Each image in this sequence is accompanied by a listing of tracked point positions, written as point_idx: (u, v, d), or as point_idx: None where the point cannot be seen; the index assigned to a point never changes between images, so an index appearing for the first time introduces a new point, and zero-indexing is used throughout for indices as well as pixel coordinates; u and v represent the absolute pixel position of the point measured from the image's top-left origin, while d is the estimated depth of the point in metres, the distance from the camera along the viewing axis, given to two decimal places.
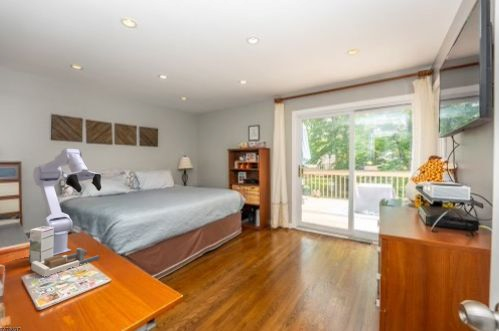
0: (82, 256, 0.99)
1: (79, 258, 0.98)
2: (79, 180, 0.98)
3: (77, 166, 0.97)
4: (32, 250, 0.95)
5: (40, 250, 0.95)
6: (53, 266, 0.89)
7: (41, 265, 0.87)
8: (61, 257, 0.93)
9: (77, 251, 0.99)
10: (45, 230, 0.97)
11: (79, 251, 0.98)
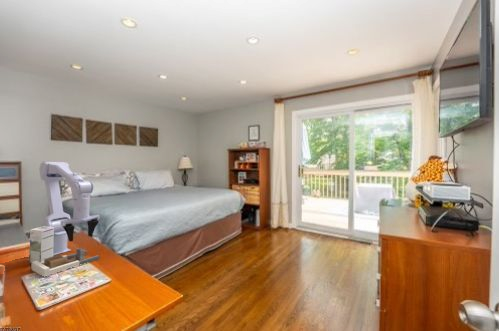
0: (82, 256, 0.99)
1: (79, 258, 0.98)
2: None
3: (80, 212, 0.97)
4: (32, 250, 0.95)
5: (40, 250, 0.95)
6: (53, 266, 0.89)
7: (41, 265, 0.87)
8: (61, 257, 0.93)
9: (77, 251, 0.99)
10: (45, 230, 0.97)
11: (79, 251, 0.98)
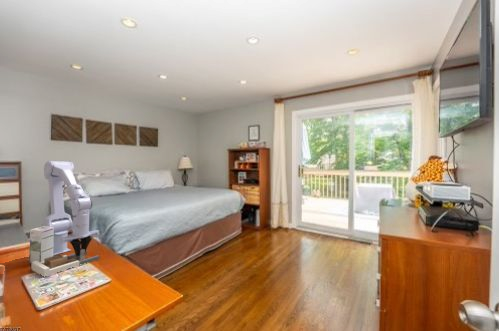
0: (82, 255, 0.99)
1: (79, 258, 0.98)
2: None
3: (79, 229, 0.97)
4: (32, 250, 0.95)
5: (40, 249, 0.95)
6: (53, 266, 0.89)
7: (41, 265, 0.87)
8: (61, 257, 0.93)
9: None
10: (45, 230, 0.97)
11: None
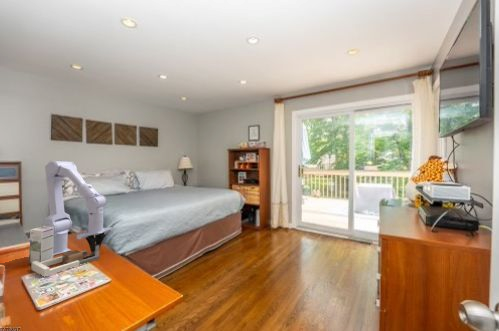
0: (97, 251, 1.04)
1: (94, 253, 1.04)
2: None
3: (95, 226, 1.03)
4: (32, 250, 0.95)
5: (40, 250, 0.95)
6: (71, 260, 0.94)
7: (41, 265, 0.87)
8: (78, 252, 0.98)
9: None
10: (45, 230, 0.97)
11: None
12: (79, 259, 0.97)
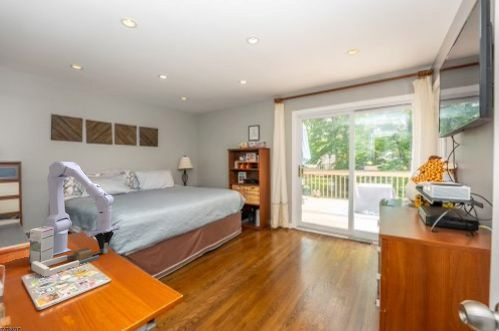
0: (105, 248, 1.07)
1: (103, 251, 1.07)
2: None
3: (103, 224, 1.06)
4: (32, 250, 0.95)
5: (40, 249, 0.95)
6: (81, 257, 0.98)
7: (41, 265, 0.87)
8: (88, 249, 1.02)
9: None
10: (45, 230, 0.97)
11: None
12: (89, 256, 1.00)
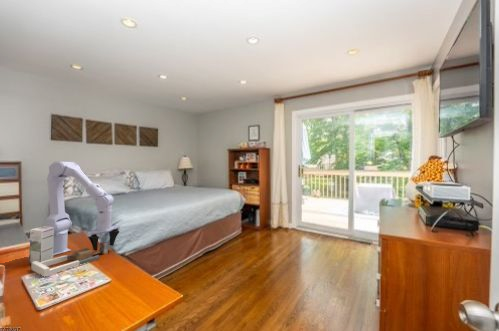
0: (105, 248, 1.07)
1: (103, 251, 1.07)
2: None
3: (103, 223, 1.06)
4: (32, 250, 0.95)
5: (40, 249, 0.95)
6: (81, 257, 0.98)
7: (41, 265, 0.87)
8: (88, 249, 1.02)
9: (101, 244, 1.08)
10: (45, 230, 0.97)
11: (103, 244, 1.07)
12: (89, 256, 1.00)
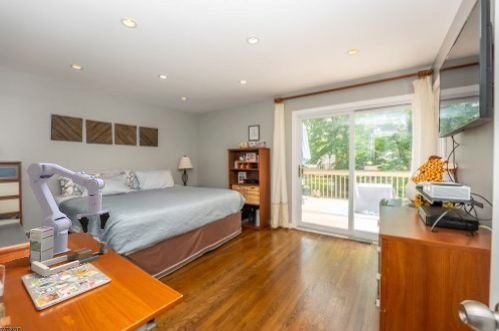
0: (105, 248, 1.07)
1: (103, 251, 1.07)
2: None
3: (94, 206, 1.07)
4: (32, 250, 0.95)
5: (40, 249, 0.95)
6: (81, 257, 0.98)
7: (41, 265, 0.87)
8: (88, 249, 1.02)
9: (101, 244, 1.08)
10: (45, 230, 0.97)
11: (103, 244, 1.07)
12: (89, 256, 1.00)
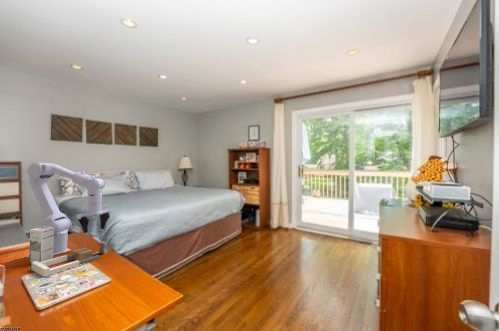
0: (105, 248, 1.07)
1: (103, 251, 1.07)
2: None
3: (94, 206, 1.07)
4: (32, 250, 0.95)
5: (40, 249, 0.95)
6: (81, 257, 0.98)
7: (41, 265, 0.87)
8: (88, 249, 1.02)
9: (101, 244, 1.08)
10: (45, 230, 0.97)
11: (103, 244, 1.07)
12: (89, 256, 1.00)
